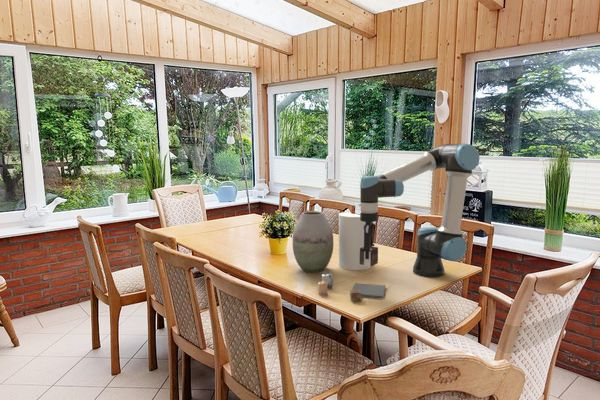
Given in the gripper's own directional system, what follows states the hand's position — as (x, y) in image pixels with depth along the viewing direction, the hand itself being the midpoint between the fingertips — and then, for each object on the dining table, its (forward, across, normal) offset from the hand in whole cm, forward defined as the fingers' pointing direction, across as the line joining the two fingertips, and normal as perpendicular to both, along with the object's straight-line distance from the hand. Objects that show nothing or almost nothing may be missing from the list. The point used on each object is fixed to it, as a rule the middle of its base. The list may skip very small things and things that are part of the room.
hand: (368, 263), depth 185 cm
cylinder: (+13, -39, -12) cm, 43 cm away
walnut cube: (+13, +11, -4) cm, 18 cm away
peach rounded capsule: (+13, +7, -19) cm, 24 cm away
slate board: (+13, 0, 0) cm, 13 cm away
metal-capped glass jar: (+13, -2, -19) cm, 23 cm away
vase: (+13, -27, -32) cm, 44 cm away
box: (+1, 0, 0) cm, 1 cm away
